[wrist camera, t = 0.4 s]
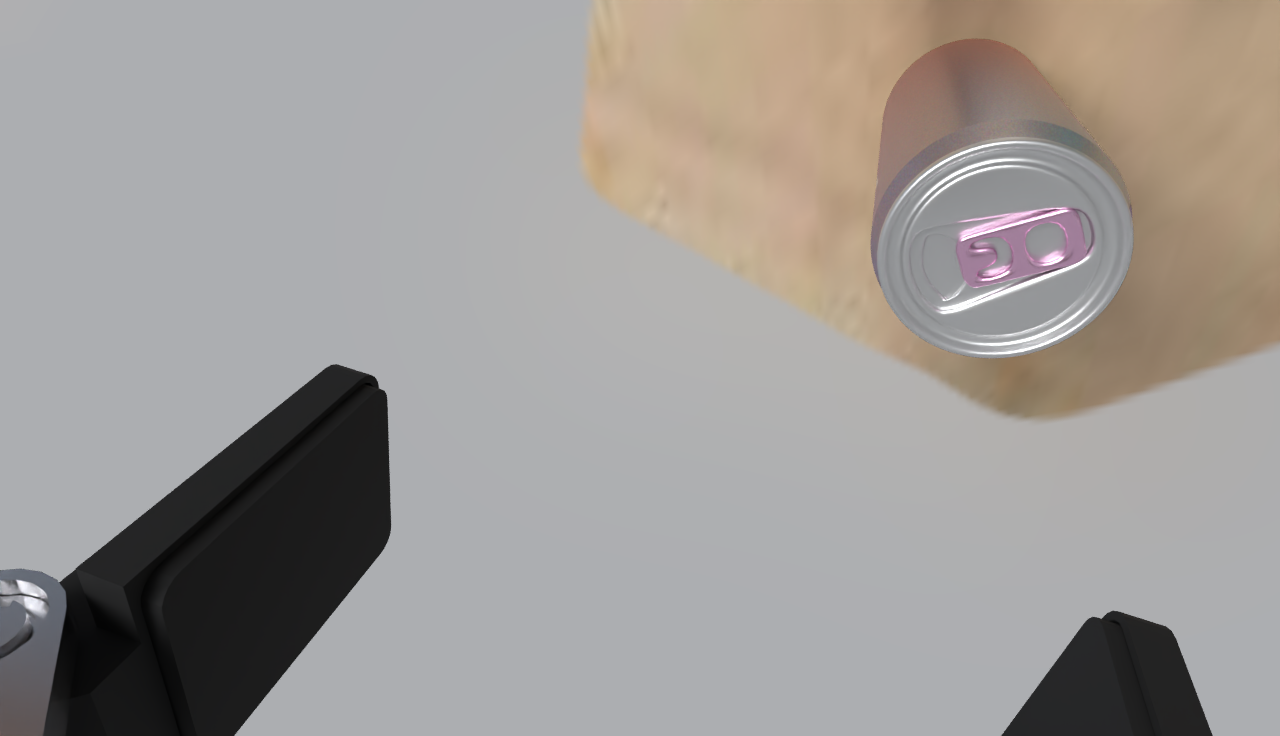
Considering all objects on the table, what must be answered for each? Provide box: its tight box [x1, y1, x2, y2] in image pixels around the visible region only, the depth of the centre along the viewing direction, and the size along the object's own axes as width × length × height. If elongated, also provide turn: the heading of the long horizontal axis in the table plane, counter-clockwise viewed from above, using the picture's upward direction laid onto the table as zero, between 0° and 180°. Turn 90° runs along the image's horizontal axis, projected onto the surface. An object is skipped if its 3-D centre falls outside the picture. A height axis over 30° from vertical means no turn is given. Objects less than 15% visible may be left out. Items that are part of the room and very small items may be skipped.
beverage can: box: [871, 39, 1134, 358], centre depth 25 cm, size 6×6×15 cm
